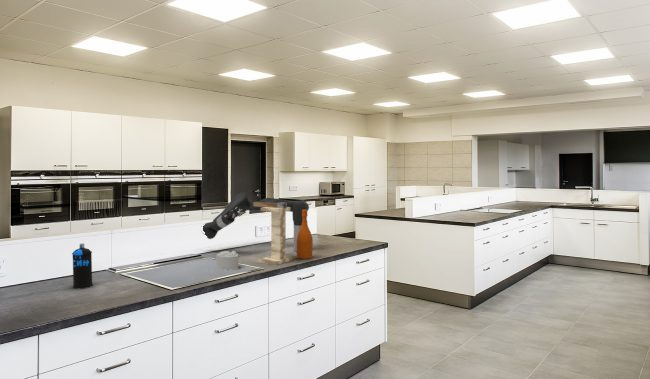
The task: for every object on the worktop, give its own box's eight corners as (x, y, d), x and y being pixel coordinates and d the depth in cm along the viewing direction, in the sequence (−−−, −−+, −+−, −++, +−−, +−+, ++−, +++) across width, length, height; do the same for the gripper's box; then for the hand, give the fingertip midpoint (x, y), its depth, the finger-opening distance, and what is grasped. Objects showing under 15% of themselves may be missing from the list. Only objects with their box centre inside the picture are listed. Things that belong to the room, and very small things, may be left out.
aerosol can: (77, 284, 211) (76, 242, 210) (95, 283, 212) (94, 242, 211) (69, 288, 203) (68, 245, 202) (88, 288, 204) (87, 245, 203)
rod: (256, 205, 272) (256, 201, 271) (286, 207, 261) (286, 202, 261) (252, 206, 268) (252, 201, 268) (282, 208, 257) (282, 203, 257)
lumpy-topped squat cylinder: (229, 264, 256) (229, 249, 256) (243, 267, 247) (243, 252, 247) (214, 267, 249) (213, 251, 248) (227, 270, 240) (227, 254, 239)
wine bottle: (315, 257, 277) (315, 209, 275) (308, 260, 268) (308, 210, 266) (301, 255, 281) (301, 208, 279) (293, 258, 272) (293, 209, 270)
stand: (274, 257, 274) (274, 205, 272) (292, 260, 268) (292, 206, 266) (258, 262, 260) (258, 207, 259) (276, 265, 254) (276, 209, 252)
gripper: (215, 215, 276) (232, 203, 269) (230, 213, 289) (247, 202, 281) (219, 226, 275) (237, 214, 268) (235, 223, 287) (252, 212, 280)
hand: (242, 208), depth 274 cm, fingers open, 8 cm apart
